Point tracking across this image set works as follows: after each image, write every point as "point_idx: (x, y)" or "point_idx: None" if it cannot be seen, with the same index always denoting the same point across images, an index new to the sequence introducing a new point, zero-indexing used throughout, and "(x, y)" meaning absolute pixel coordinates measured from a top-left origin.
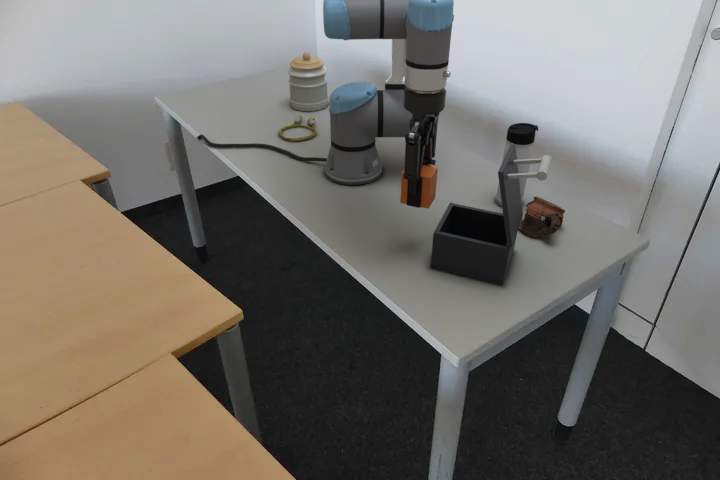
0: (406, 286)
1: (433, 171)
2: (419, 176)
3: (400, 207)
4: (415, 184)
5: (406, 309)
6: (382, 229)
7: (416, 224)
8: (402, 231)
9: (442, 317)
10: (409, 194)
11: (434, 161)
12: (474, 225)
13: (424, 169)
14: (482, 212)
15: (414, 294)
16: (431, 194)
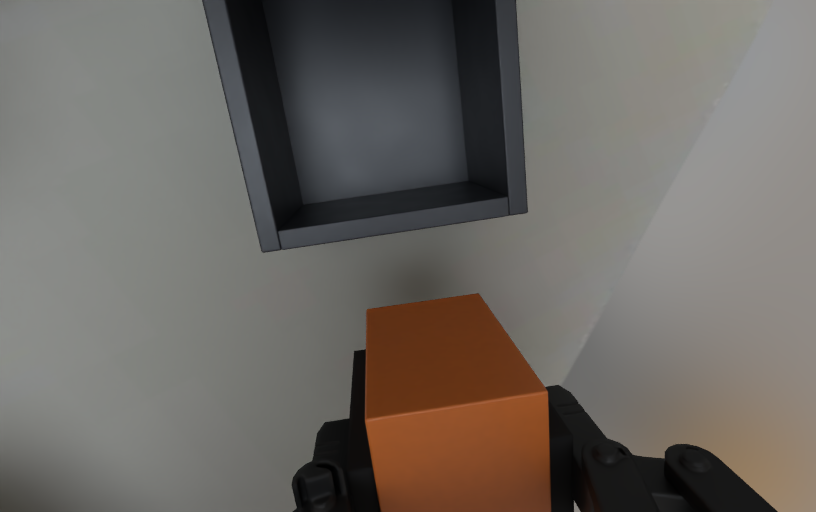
0: (586, 213)
1: (442, 419)
2: (628, 461)
3: (224, 416)
4: (601, 433)
5: (675, 169)
6: None
7: (284, 330)
8: (346, 347)
9: (672, 63)
10: None
11: (311, 484)
12: (271, 116)
13: (445, 481)
14: (244, 79)
15: (610, 178)
16: (455, 324)
